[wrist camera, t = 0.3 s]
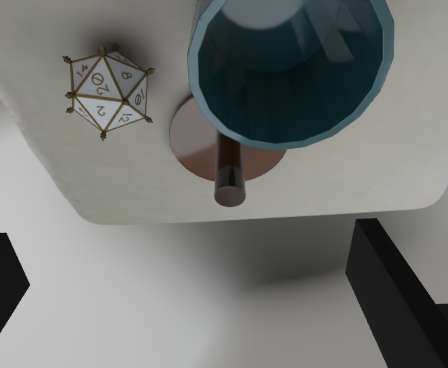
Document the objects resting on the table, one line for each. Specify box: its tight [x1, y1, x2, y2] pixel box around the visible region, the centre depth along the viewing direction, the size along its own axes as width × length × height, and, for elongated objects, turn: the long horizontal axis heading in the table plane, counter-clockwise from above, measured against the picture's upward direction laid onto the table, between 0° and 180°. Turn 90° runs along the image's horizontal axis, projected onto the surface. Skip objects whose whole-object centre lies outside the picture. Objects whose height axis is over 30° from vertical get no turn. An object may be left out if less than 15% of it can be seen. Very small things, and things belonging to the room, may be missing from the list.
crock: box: [187, 0, 394, 150], centre depth 27 cm, size 13×14×12 cm
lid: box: [169, 95, 287, 207], centre depth 38 cm, size 14×14×10 cm
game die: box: [62, 43, 155, 141], centre depth 33 cm, size 9×8×10 cm
